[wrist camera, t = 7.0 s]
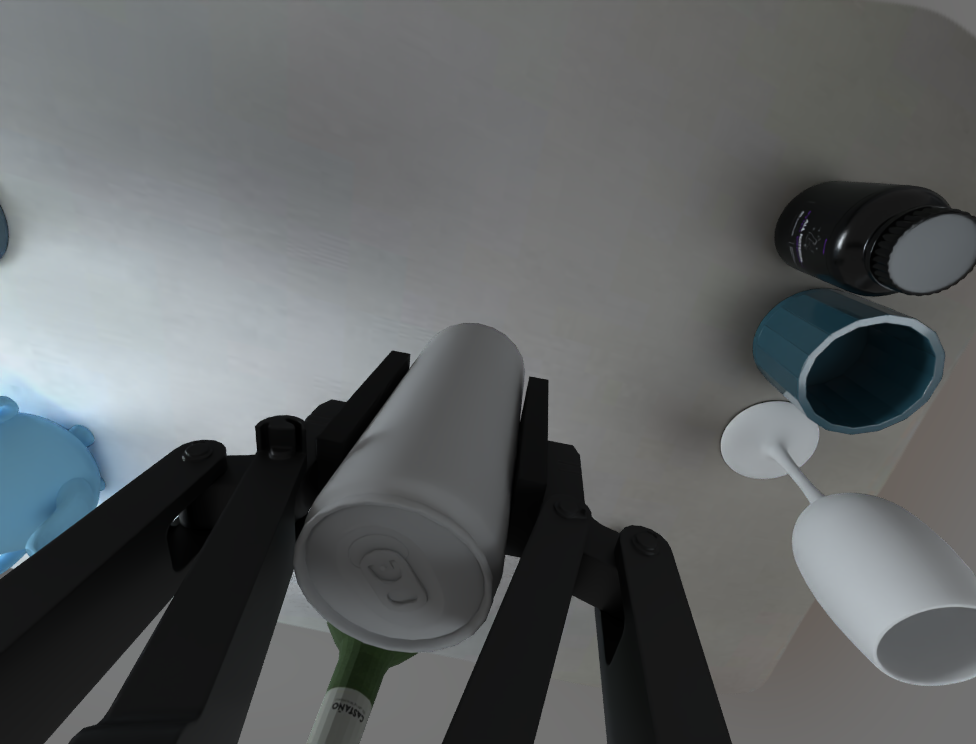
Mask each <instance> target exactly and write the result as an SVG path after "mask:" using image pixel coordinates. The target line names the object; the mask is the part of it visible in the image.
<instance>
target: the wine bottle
mask: <svg viewBox="0 0 976 744" xmlns="http://www.w3.org/2000/svg"><path fill="white" fill-rule="evenodd" d="M327 624H328V627H329V629H330V632H331V634H332V637H333V639H334V642H335V644H336V646H337V647H338V649H339V651H340V652H339V660H338V663H337V666H336V668H335V671H334V674H333V676H332V679H331V681H330V684H329V686H328V689H327V692H326V694H325V697H324V700H323V702H322V705H321V708H320V710H319V713H318V715H317V718H316V720H315V723H314V726H313V728H312V731H311V734H310V736H309V739H308V741H307V744H359V743H360V741H361V738H362V735H363V732H364V729H365V726H366V724H367V721H368V718H369V715H370V713H371V710H372V707H373V704H374V701H375V699H376V696H377V693H378V690H379V687H380V685H381V682H382V679H383V676H384V674H385V673H386V671H387V670H388V668H390V667H393V666H395V665H398V664H400V663H402V662H404V661H405V660H407V659H409V658H411V657H412V656H414V655H416V654H417V653H409V652H400V651H391V650H386V649H383V648H379V647H376V646H373V645H369V644H366V643H363V642H361V641H359V640H357V639H355V638H353V637H351V636H349V635H347V634H345V633H343V632H342V631H340V630H339V629H337V628H336V627H335V626H333V625H332V624H331V623H329V622H328V621H327Z"/></svg>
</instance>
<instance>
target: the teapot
mask: <svg viewBox="0 0 976 744" xmlns="http://www.w3.org/2000/svg"><path fill="white" fill-rule="evenodd" d="M18 411H19V408H18V405H17V404H16V402H15V401H13V400H12V399H11V398H9V397H6V396H0V554H2V555H1V556H0V574H2V573H3V572H5V571H6V570H8V569H9V568H10V567H12V566H13V565H14V564H15V563H16V562H17V561H18V560H19V559H21V558H22V557H23V556H24V555H25V554H26V553H27V554H28V555H29V556H30V557H31V556H32V555H33V554H35V553H36V552H38V551H39V550H40V549H42V548H43V547H44V546H46V545H47V544H48V543H50V542H51V541H52V540H54V539H55V538H56V537H58V536H59V535H60V534H62V533H63V532H64V531H66V530H67V529H68V528H70V527H71V526H72V525H74V524H75V523H76V522H78V521H79V520H80V519H82V518H83V517H84V516H86V515H87V514H88V513H90V512H91V511H93V510H94V509H95V508H96V506H97V504H98V500H99V494H100V491H102V490H104V489H105V482H104V480H103V479H102V478H101V477H100V473H99V470H98V466H97V464H96V462H95V460H94V458H93V457H92V455H91V453H90V452H89V451H88V449H87V448H86V447H88V446H90V445H92V444H93V443H94V436H93V434H92V433H91V431H90V430H88V429H87V428H86V427H84V426H81V425H75V426H73V427H72V428H70V429H69V430H66V429H65V428H63V427H62V426H60V425H58V424H57V423H55V422H53V421H50V420H48V419H46V418H43V417H40V416H36V415H31V414H26V413H20V412H18Z"/></svg>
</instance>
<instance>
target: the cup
mask: <svg viewBox="0 0 976 744" xmlns="http://www.w3.org/2000/svg"><path fill="white" fill-rule="evenodd" d="M753 357H754V361H755V363H756V366H757V368H758V369H759V371H760V372H761V373H762V374H763V375H764V377H765V378H766V379H767V380H768V381H769V382H770V383H771V384H772V385H773V386H774V387H775V388H776V389H777V390H778V391H779V392H780V393H781V394H783V395H784V396H785V397H786V398H787V399H788V400H789V401H790V402H791V403H792V404H793V405H794V406H795V407H796V408H798V409H799V410H800V411H801V412H802V413H803V414H804V415H805V416H806V417H807V418H808V419H810V420H811V421H813V422H814V423H816V424H818V425H819V426H821V427H822V428H824V429H825V430H828V431H834V432H839V433H845V434H850V435H851V434H852V435H853V434H860V433H867V432H874V431H879V430H882V429H884V428H887V427H889V426H891V425H893V424H896V423H898V422H900V421H903V420H905V419H907V418H908V417H909V416H910V415H912V414H913V413H914V412H915V411H916V410H918V409H919V408H920V407H921V406H923V405H924V404H925V403H926V402H927V401H928V400H929V399H930V397H931V395H932V394H933V392H934V390H935V389H936V387H937V386H938V384H939V382H940V381H941V379H942V377H943V369H944V361H945V352H944V349H943V347H942V345H941V343H940V340H939V338H938V336H937V333H936V332H935V331H933V330H932V329H930V328H929V327H927V326H926V325H925V324H923V323H922V322H920V321H919V320H917V319H915V318H913V317H910V316H908V315H905V314H903V313H900V312H898V311H895V310H893V309H890V308H888V307H885V306H882V305H880V304H877V303H875V302H872V301H870V300H867V299H865V298H862V297H860V296H857V295H855V294H852V293H848V292H844V291H841V290H837V289H830V288H817V289H810V290H806V291H802V292H800V293H797V294H794V295H792V296H790V297H788V298H786V299H785V300H783V301H782V302H780V303H779V304H778V305H776V306H775V307H774V308H773V309H772V310H771V311H770V312H769V313H768V314H767V315H766V316H765V317H764V319H763V320H762V322H761V323H760V325H759V327H758V329H757V331H756V334H755V337H754V341H753Z"/></svg>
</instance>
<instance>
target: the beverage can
mask: <svg viewBox="0 0 976 744" xmlns="http://www.w3.org/2000/svg"><path fill="white" fill-rule="evenodd" d="M524 376H525V368H524V363H523V358H522V356H521V354H520V352H519V350H518V349H517V347H516V345H515V344H514V343H513V342H512V341H511V340H510V339H509V338H508V337H507V336H506V335H505V334H503V333H501V332H499V331H498V330H496V329H494V328H493V327H489V326H486V325H482V324H479V323H463V324H458V325H454V326H450V327H448V328H446V329H444V330H443V331H441V332H439V333H438V334H437V335H436V336H435V337H434V338H433V339H432V340H431V341H430V342H429V343H428V344H427V345H426V347H425V348H424V350H423V351H422V352H421V354H420V355H419V357H418V358H417V359H416V361H415V362H414V363H413V365H412V366H411V368H410V369H409V370H408V372H407V373H406V375H405V376H404V377H403V379H402V380H401V381H400V383H399V384H398V386H397V387H396V388H395V390H394V391H393V392H392V394H391V395H390V397H389V398H388V399H387V401H386V402H385V404H384V405H383V406H382V408H381V409H380V410H379V412H378V413H377V415H376V416H375V417H374V419H373V420H372V422H371V423H370V424H369V426H368V427H367V428H366V430H365V431H364V433H363V434H362V435H361V437H360V438H359V440H358V441H357V442H356V444H355V445H354V446H353V448H352V449H351V451H350V452H349V453H348V455H347V456H346V458H345V459H344V460H343V462H342V463H341V464H340V466H339V467H338V469H337V470H336V471H335V473H334V474H333V476H332V477H331V478H330V480H329V481H328V482H327V484H326V485H325V487H324V488H323V489H322V491H321V492H320V494H319V495H318V496H317V498H316V499H315V501H314V503H313V505H312V507H311V509H310V511H309V513H308V515H307V517H306V519H305V524H304V527H303V529H302V531H301V533H300V535H299V537H298V539H297V541H296V543H295V547H294V557H293V567H294V571H295V575H296V579H297V583H298V585H299V587H300V588H301V590H302V592H303V594H304V595H305V597H306V599H307V601H308V602H309V603H310V604H311V605H312V606H313V608H314V609H315V610H316V611H317V612H318V613H319V614H320V615H321V616H322V617H323V618H324V619H325V620H326V621H328V622H329V623H331V624H332V625H333V626H335V627H336V628H337V629H339V630H340V631H342V632H343V633H345V634H347V635H349V636H351V637H353V638H355V639H357V640H359V641H361V642H363V643H366V644H369V645H373V646H376V647H379V648H383V649H386V650H391V651H400V652H409V653H418V652H433V651H438V650H441V649H445V648H448V647H452V646H455V645H457V644H459V643H461V642H462V641H464V640H466V639H467V638H469V637H471V636H472V635H474V633H475V632H476V631H477V630H478V629H479V628H480V626H481V625H482V624H483V623H484V622H485V621H486V619H487V616H488V613H489V611H490V608H491V606H492V603H493V598H494V596H495V594H496V591H497V588H498V586H499V583H500V580H501V578H502V574H503V567H504V559H505V551H506V542H507V534H508V526H509V518H510V510H511V501H512V493H513V485H514V477H515V468H516V459H517V450H518V438H519V426H520V413H521V404H522V395H523V387H524Z"/></svg>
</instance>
